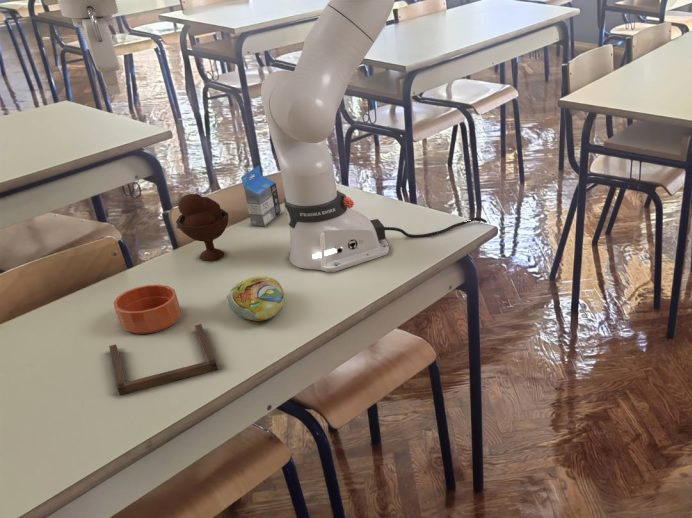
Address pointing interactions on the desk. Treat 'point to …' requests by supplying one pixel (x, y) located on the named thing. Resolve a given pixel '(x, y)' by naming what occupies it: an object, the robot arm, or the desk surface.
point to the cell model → (256, 298)
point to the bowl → (147, 309)
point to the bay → (166, 376)
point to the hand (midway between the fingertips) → (112, 87)
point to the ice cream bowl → (203, 223)
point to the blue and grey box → (261, 198)
